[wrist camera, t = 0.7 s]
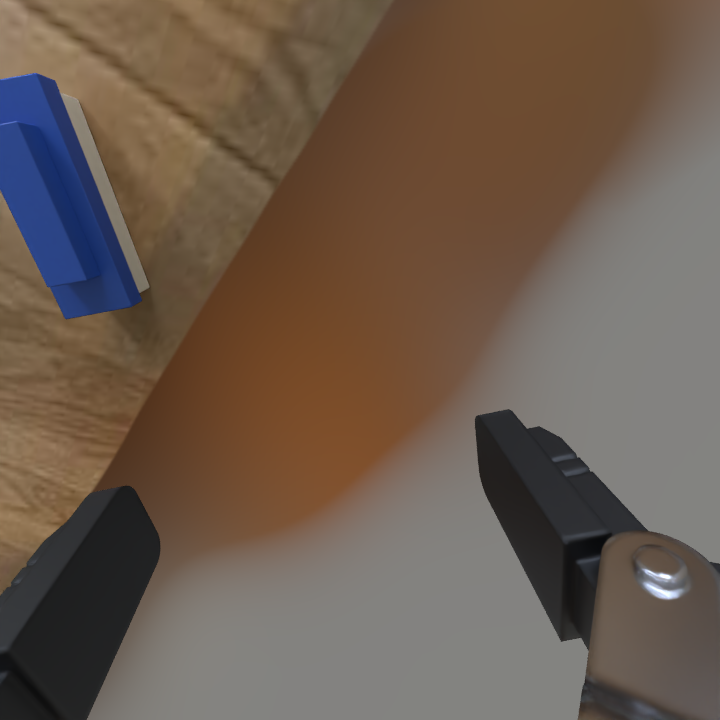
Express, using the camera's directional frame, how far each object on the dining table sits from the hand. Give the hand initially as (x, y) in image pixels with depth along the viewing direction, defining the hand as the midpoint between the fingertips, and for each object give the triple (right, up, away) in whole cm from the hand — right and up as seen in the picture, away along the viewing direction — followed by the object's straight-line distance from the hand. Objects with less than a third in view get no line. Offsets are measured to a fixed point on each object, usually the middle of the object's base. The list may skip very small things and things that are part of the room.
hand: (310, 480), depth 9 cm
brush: (-19, +14, +20) cm, 31 cm away
